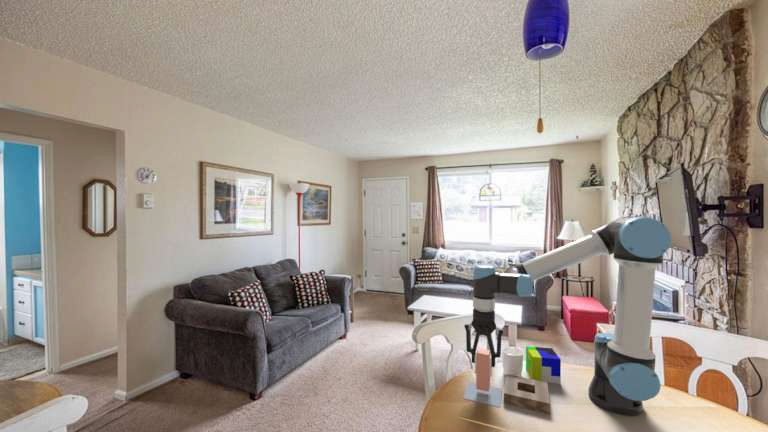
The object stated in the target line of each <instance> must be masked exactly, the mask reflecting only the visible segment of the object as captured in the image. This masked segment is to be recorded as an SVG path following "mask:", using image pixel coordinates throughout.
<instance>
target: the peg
mask: <svg viewBox="0 0 768 432" xmlns="http://www.w3.org/2000/svg"><path fill="white" fill-rule="evenodd" d="M476 353H477V365H476V378H475V379H476V381H475V383H476V389H478V390H483V391H487V392H489V388H490V386H491V377H489V357H490V355H491V353H490V349H485V348H479V347H477V349H476Z"/></svg>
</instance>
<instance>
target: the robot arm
mask: <svg viewBox="0 0 768 432" xmlns="http://www.w3.org/2000/svg"><path fill="white" fill-rule="evenodd" d="M672 237H673V236H672V233H671V231H670V229H669V228H668V226H666V224H664V223H663V222H662V221H660V220H658V219H656V218H652V217H649V216H644V215H641V216H632V215H631V216H622V217H618V218H616V219H614V220H612V221H611V222H608V223H606V224H604V225H603V226H601V227H597V228H596V229H592V230H591V233H590V234H589V235H587V236H585V237H581V238H579V239H577V240H575V241H572V242H569V243H567V244H565V245H563V246H560V247H557V248H555V249H553V250H550V251H549V252H546V253H544V254H541V255H538V256H536V257H534V258H532V259H528V260H527V261H524V262H522V263H520V264H517V265H513V266H509V267H507V268H506V269H505V270H504V271H503V272H497V270H496V268H495V266H493V265H487V264H480V265H475V266H474V268H473V274H472V275H473V277H472V290H473V292H472V307H473V308H472V320H471V322H465V324H464V329H465V337H466V339H465V340H466V343H465V344H466V347H465V348H466V352H467V353H470V354H471V363H472V364H474V374H476V365H477V350H478V344H479V341H480V336H485V337H486V339H487V343H488V348H489V350H490V357H489V377H490V378H491V377H492V374H493V368H495V367H496V358H500V357H501V355H502V336H503V333H504V327H499V326H497V324H496V310H495V309H496V295H506V296H515V297H520V298H522V297H524V298H525V297H526V298H527V297H529V298H531V296H532V295H533V282H535V281H537V280H539V279H543V278H544V277H547V276H551V275H553V274H554V273H558V272H561V271H563V270H566V269H568V268H571V267H573V266H576V265H579V264H582V263H584V262H586V261H589V260H592V259H594V258H597V257H599V256H601V255H604V256H610V255H613V260H614V261H615V262H617V264H618V272H617V273H618V276H617V288H616V289H617V290H616V302H615V316H614V328H613V329H614V330H613V333H610V332H609V333H608V332H601V333H600V332H599V333H596V334H595V336H594V341H593V343H594V373H593V374H594V375H593V377H592V379H591V382H590V383H589V386H588V398H589V399H590V400H591V401H592V402H593V403H594V404H596V405H597V406H599V407H601V408H602V409H605V410H607V411H609V412H612V413H615V414H618V415H624V416H639V415H641V414H642V413H643V411H644V405H643V402H645V401H649V400H651V399H654V398H655V397H656V396H658V395H659V394H660V391H661V385H662V384H661V380H660V378H659V375H658V374H657V373H656V371H655V369H656V357H657V356H656V353H655V352H653V351H652V349H651V348H650V345H651V334H652V333H651V332H652V331H651V330H652V320H653V318H652V317H653V316H652V315H653V307H654V303H653V302H654V291H655V281H656V280H655V279H656V278H655V277H656V270H657V269H656V268H659V267H661V265H663V263H664V254H665V253H667V252H668V250H669V249H670V247H671V245H672V240H673V239H672ZM472 328H473V329H474V330H475V337H474V341H473V346H472V337H471V336H472V335H471V334H472V333H471V332H472V331H471V330H472ZM494 331H495V333H496V334H497V336H496V338H497V339H496V340H497V341H496V351H495V346H494V342H493V341H494V340H493V335H492V334H493V332H494Z"/></svg>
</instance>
